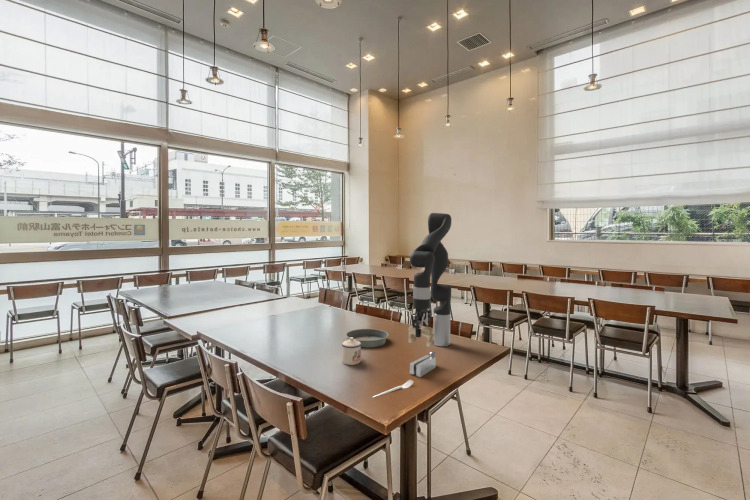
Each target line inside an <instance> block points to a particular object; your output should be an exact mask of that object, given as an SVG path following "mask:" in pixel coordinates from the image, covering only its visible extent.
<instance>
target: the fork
mask: <svg viewBox="0 0 750 500" xmlns="http://www.w3.org/2000/svg"><path fill="white" fill-rule="evenodd" d="M413 383H414V380H412V379H408V380H407V381H406V382H405V383H403V384H402V385H398V386H395V387H392V388H391V389H388V390H385V391H383V392H380V393H379V394H376V395H373V396H372V398H373V399H374V398H377V397H379V396H382V395H386V394H389V393H391V392H394V391H397V390H400V389H402V390H406V389H408V388H410V387H411V386H412V385H413Z"/></svg>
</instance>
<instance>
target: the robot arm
mask: <svg viewBox="0 0 750 500" xmlns="http://www.w3.org/2000/svg"><path fill="white" fill-rule="evenodd" d="M451 227H452V216H451V215H450V214H449V213H441V212H432V213H430V214H429V215H428V216H427V228H428V234H427V235H426V236H425V237H424V238H423V240H422V241H421V244H420V245H418V247H416V248H415V249H414V250H413V251H412V252H411V254H410V255H409V263H410V265H411V266H412V267H414V268H424V270H423V271H421V272H416V273H414V275H413V289H412V290H413V291H412V307H413V308H414V309H415V312H414V314H411V316H410V317H411V323H412V324H411V326H413V328H415V329H416V338H421V337H422V336H421V326H425V327H429V325H430V323H431V318H432V310H429V309H430V308H431V300H432V301H435V302H444V303H443V304H442V305H438V306H435V307H434V308H433V324H432V328H434V344H433V346H434V345H435V346H436V347H437V346H438V347H449V346H451V302H452V299H451V298H452V287H451V285H450V284H441V283H439V284H438V282H439V280H440V278H441V277H442V275H443V274H444V272H445V271H446V270H447V268H448V265H449V252H448V251H447V249H446V247H445V246H444V244H443V243H442V240H443V239H444V238H445V237H446V235H447V234H448V232H449V231H450V230H451ZM448 345H449V346H448Z"/></svg>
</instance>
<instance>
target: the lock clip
mask: <svg viewBox="0 0 750 500" xmlns="http://www.w3.org/2000/svg"><path fill="white" fill-rule="evenodd" d="M421 337H424V338H426V347H427V348H429V347H431V346H434V328H433V327H431V326H427V327H425V326H423V325H421ZM416 341H417V337H416V329H415V328H413V326H412V325H410V326H408V344H409V343H410V344H411V343H413V342H416Z"/></svg>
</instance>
